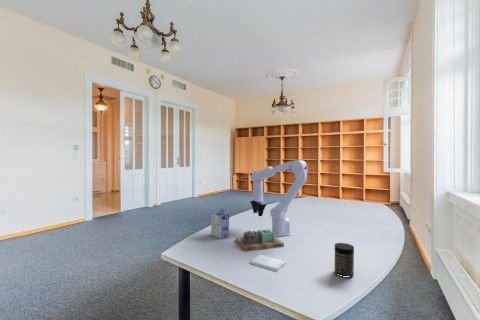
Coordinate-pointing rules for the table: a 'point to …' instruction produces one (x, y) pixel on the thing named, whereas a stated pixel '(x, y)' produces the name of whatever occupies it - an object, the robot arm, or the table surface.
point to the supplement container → (344, 259)
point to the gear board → (256, 241)
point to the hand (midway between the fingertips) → (257, 214)
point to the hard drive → (268, 262)
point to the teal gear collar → (266, 236)
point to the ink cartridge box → (220, 225)
